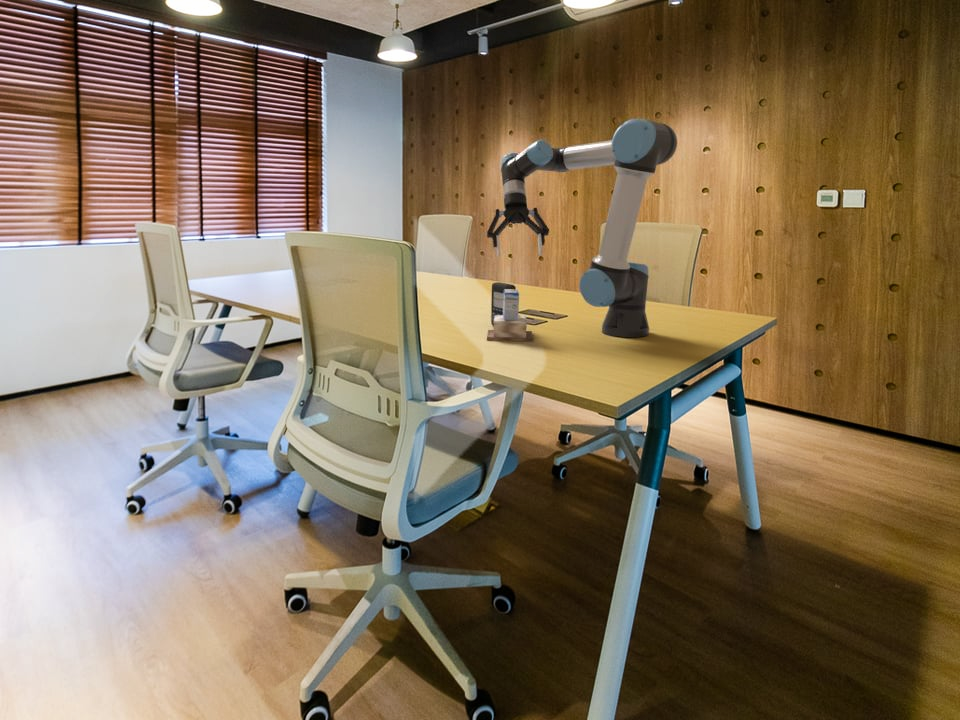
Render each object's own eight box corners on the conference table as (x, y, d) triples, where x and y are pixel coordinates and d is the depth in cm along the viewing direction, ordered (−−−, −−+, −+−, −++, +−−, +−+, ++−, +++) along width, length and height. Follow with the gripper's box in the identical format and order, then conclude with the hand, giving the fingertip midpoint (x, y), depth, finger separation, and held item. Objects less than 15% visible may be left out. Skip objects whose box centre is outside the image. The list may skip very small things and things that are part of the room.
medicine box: (502, 316, 193) (503, 288, 191) (516, 316, 193) (517, 289, 191) (504, 320, 185) (504, 292, 183) (518, 320, 185) (519, 292, 183)
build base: (531, 334, 196) (532, 315, 194) (532, 341, 185) (533, 322, 184) (488, 332, 196) (488, 314, 195) (486, 340, 186) (487, 321, 184)
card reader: (489, 326, 207) (490, 282, 203) (498, 324, 210) (499, 281, 206) (506, 330, 200) (507, 285, 196) (515, 329, 202) (516, 284, 199)
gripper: (550, 202, 205) (556, 258, 198) (477, 205, 204) (480, 261, 197) (553, 189, 198) (560, 247, 191) (477, 192, 197) (481, 250, 190)
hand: (519, 254), depth 194 cm, fingers open, 13 cm apart
